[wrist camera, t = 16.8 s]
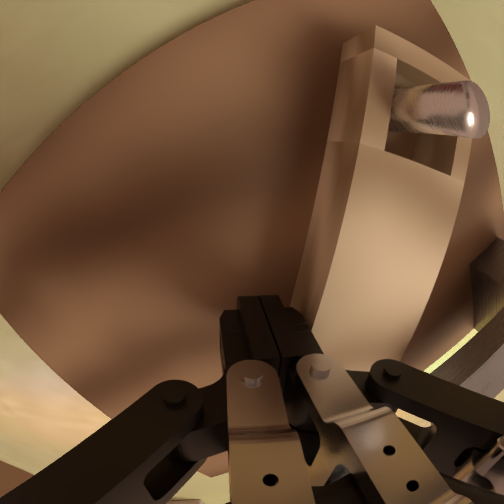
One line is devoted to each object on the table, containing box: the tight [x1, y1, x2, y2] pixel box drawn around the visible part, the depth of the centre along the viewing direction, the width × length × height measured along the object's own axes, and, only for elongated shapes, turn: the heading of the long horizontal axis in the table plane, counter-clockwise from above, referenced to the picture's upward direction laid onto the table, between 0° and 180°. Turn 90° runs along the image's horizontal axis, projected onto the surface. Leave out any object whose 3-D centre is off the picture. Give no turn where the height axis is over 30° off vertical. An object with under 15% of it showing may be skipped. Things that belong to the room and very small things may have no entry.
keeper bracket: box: [430, 237, 504, 425], centre depth 12 cm, size 6×10×5 cm, turn 122°
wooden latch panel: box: [0, 0, 504, 477], centre depth 10 cm, size 22×26×6 cm
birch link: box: [290, 25, 472, 372], centre depth 11 cm, size 18×5×2 cm, turn 170°
